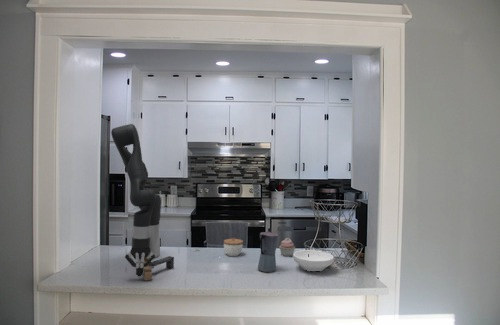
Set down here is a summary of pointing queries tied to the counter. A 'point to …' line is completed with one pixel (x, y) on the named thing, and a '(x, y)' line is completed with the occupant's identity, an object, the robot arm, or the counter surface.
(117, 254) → the counter surface
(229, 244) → the lidded jar
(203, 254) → the counter surface
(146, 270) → the walnut link
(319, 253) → the bowl
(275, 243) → the moka pot
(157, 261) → the keeper
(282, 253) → the cupcake
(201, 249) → the mounting bracket
